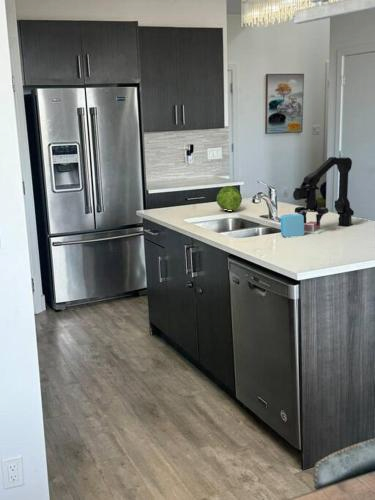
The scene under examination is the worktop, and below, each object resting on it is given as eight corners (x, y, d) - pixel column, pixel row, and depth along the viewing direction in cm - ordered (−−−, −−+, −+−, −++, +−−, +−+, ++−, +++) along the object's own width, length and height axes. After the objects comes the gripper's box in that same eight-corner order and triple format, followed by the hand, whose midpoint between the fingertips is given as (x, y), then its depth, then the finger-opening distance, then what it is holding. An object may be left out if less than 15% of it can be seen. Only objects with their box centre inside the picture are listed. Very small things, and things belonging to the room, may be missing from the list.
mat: (327, 229, 343) (327, 228, 343) (317, 233, 334) (317, 232, 334) (306, 228, 352) (306, 227, 352) (295, 232, 343) (295, 231, 343)
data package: (300, 234, 337) (300, 213, 334) (304, 235, 333) (303, 214, 330) (281, 236, 334) (280, 215, 332) (284, 238, 330) (283, 216, 327)
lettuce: (233, 207, 447) (232, 182, 443) (246, 211, 425) (245, 185, 421) (211, 210, 441) (209, 185, 437) (223, 214, 420) (221, 188, 416)
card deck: (320, 228, 345) (320, 222, 344) (312, 231, 338) (312, 224, 337) (311, 228, 348) (310, 221, 348) (303, 231, 342) (303, 224, 341)
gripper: (332, 196, 339) (333, 223, 342) (303, 195, 351) (304, 221, 354) (323, 199, 331) (323, 227, 334) (293, 198, 343) (294, 225, 346)
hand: (311, 225), depth 343 cm, fingers open, 8 cm apart
